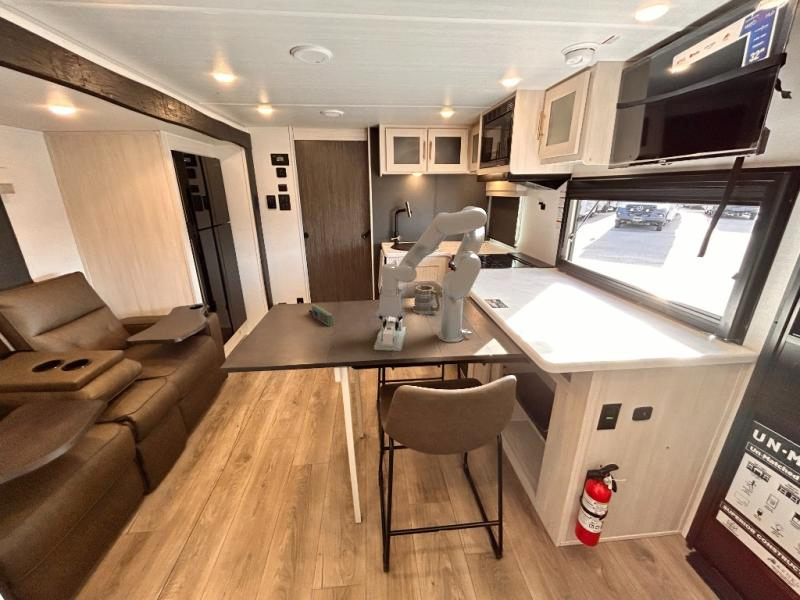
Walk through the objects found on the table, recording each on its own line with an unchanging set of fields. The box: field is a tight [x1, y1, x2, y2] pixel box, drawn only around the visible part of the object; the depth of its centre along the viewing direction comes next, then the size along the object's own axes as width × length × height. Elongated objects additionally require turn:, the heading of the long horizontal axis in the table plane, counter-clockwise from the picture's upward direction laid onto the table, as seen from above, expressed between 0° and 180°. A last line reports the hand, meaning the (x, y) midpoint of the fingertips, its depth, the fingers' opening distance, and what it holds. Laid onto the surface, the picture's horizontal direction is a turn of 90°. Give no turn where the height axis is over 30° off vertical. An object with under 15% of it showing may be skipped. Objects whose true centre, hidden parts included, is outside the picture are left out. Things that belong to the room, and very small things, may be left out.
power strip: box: [383, 316, 396, 344], centre depth 144 cm, size 4×24×5 cm, turn 174°
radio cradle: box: [373, 317, 407, 352], centre depth 145 cm, size 12×22×6 cm, turn 174°
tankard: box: [412, 284, 442, 316], centre depth 175 cm, size 20×13×15 cm, turn 43°
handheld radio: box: [308, 303, 334, 328], centre depth 168 cm, size 7×3×25 cm
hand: (391, 328), depth 144 cm, fingers open, 4 cm apart
